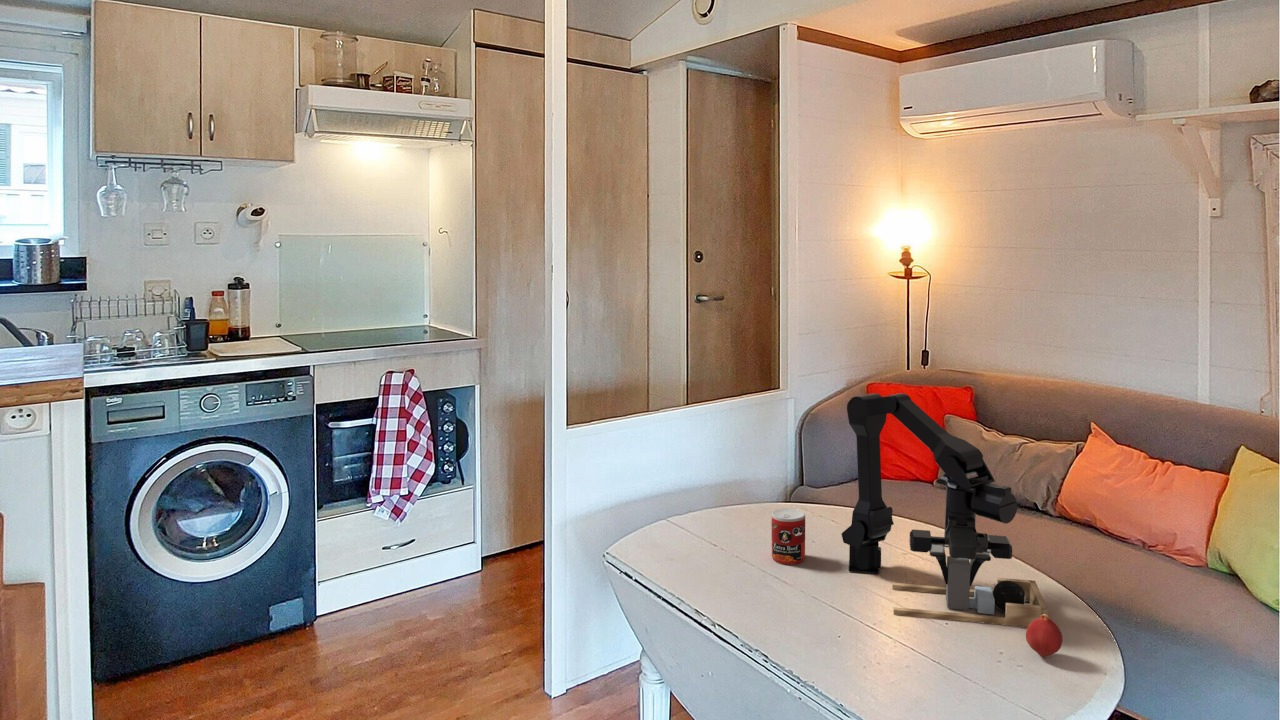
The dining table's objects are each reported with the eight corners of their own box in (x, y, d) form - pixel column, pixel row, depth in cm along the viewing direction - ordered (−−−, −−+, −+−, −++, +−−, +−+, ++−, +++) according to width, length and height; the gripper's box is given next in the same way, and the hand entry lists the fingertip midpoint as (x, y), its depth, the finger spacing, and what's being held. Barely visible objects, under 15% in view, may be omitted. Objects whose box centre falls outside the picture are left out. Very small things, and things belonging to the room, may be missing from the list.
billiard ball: (1023, 619, 160) (1024, 590, 159) (989, 613, 163) (991, 584, 162) (1026, 607, 165) (1027, 579, 164) (993, 601, 168) (994, 573, 167)
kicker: (947, 610, 164) (949, 565, 163) (945, 597, 170) (946, 554, 169) (994, 614, 162) (995, 569, 161) (990, 601, 168) (991, 557, 166)
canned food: (768, 563, 191) (768, 517, 190) (775, 550, 198) (775, 506, 197) (801, 567, 188) (801, 520, 187) (808, 554, 196) (808, 509, 194)
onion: (1028, 645, 150) (1030, 603, 149) (1063, 653, 147) (1066, 611, 146) (1022, 659, 145) (1024, 616, 144) (1058, 668, 142) (1061, 624, 141)
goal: (1005, 625, 158) (1006, 605, 157) (996, 596, 171) (996, 577, 170) (1047, 629, 156) (1048, 609, 156) (1034, 599, 169) (1035, 580, 168)
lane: (893, 614, 164) (893, 609, 163) (892, 587, 176) (892, 582, 176) (1005, 625, 158) (1006, 620, 158) (996, 596, 171) (996, 591, 171)
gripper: (912, 519, 159) (910, 596, 161) (1018, 526, 154) (1014, 606, 156) (910, 501, 169) (908, 574, 171) (1009, 508, 164) (1005, 582, 166)
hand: (957, 584), depth 166 cm, fingers closed on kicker, 4 cm apart
